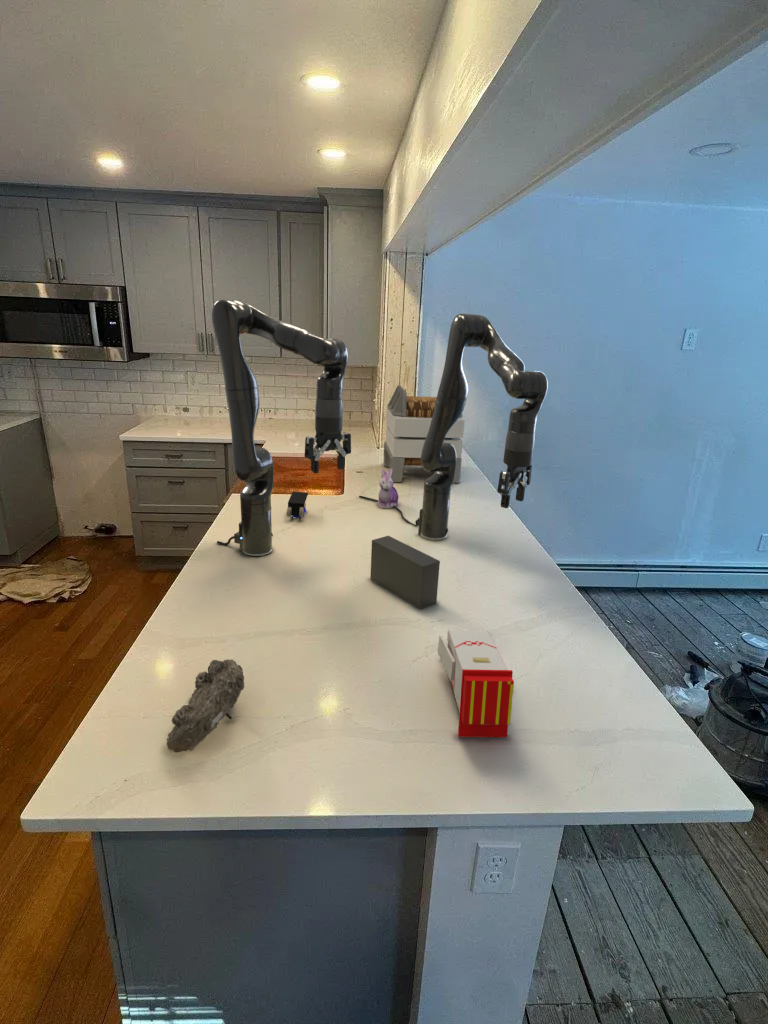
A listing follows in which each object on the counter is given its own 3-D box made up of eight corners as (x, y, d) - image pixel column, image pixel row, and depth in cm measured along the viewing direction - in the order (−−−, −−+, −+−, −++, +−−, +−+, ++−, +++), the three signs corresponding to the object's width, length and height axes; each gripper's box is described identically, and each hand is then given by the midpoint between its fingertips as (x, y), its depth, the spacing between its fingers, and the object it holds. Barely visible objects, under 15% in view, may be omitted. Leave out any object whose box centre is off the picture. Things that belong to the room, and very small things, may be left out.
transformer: (382, 463, 289) (386, 382, 275) (445, 464, 293) (451, 384, 279) (390, 482, 257) (394, 392, 243) (460, 483, 261) (468, 394, 247)
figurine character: (304, 526, 206) (308, 508, 220) (304, 507, 203) (308, 490, 216) (286, 525, 206) (291, 507, 219) (285, 507, 203) (290, 489, 216)
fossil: (192, 660, 117) (244, 628, 112) (224, 691, 120) (276, 661, 115) (142, 746, 98) (202, 712, 93) (182, 779, 101) (242, 748, 96)
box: (436, 602, 154) (440, 560, 150) (419, 609, 150) (423, 566, 146) (386, 573, 169) (388, 535, 165) (370, 579, 166) (371, 540, 161)
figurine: (383, 510, 222) (384, 473, 217) (371, 502, 230) (372, 466, 225) (404, 507, 226) (406, 471, 221) (391, 499, 234) (393, 464, 229)
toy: (488, 613, 130) (523, 677, 101) (484, 667, 133) (517, 744, 104) (435, 612, 130) (455, 676, 101) (432, 666, 133) (451, 743, 103)
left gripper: (342, 410, 163) (340, 464, 169) (299, 413, 154) (299, 471, 160) (357, 414, 158) (355, 470, 163) (314, 418, 149) (314, 477, 155)
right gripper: (519, 440, 160) (512, 495, 165) (493, 448, 150) (487, 506, 155) (544, 445, 155) (536, 501, 161) (519, 453, 145) (511, 513, 151)
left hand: (327, 470), depth 162 cm, fingers open, 8 cm apart
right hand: (512, 503), depth 158 cm, fingers open, 8 cm apart
